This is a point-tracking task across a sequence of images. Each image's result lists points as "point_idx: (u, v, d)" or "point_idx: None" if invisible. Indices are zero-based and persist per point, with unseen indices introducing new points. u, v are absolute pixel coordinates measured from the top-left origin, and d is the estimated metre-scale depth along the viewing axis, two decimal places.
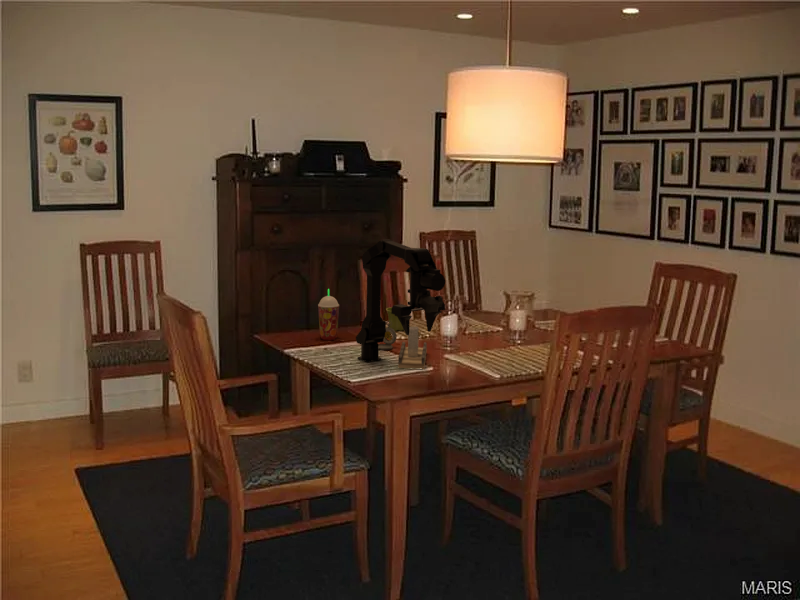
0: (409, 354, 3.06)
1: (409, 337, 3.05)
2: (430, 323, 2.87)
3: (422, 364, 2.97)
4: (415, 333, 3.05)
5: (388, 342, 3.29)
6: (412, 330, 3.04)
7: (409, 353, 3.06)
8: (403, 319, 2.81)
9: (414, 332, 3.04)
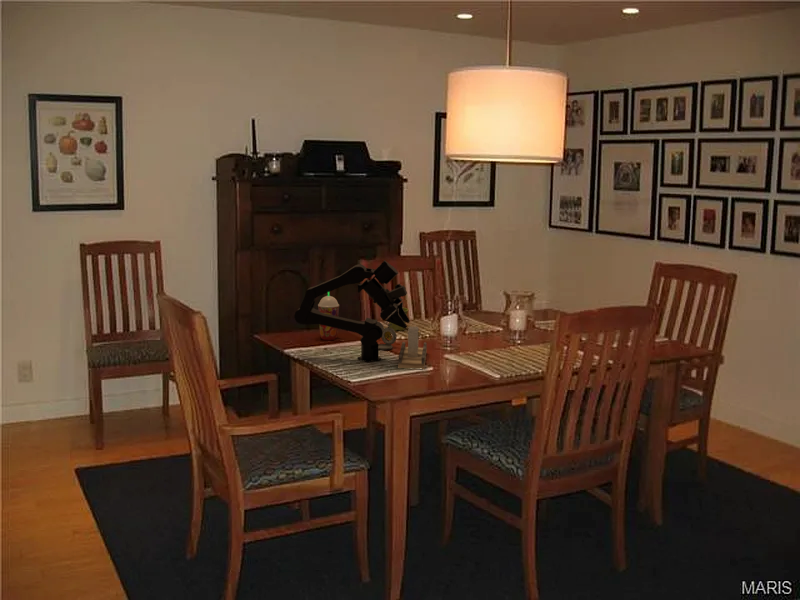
0: (409, 354, 3.06)
1: (409, 337, 3.05)
2: (405, 315, 3.10)
3: (422, 364, 2.97)
4: (415, 333, 3.05)
5: (388, 342, 3.29)
6: (412, 330, 3.04)
7: (409, 353, 3.06)
8: (394, 318, 3.00)
9: (414, 332, 3.04)
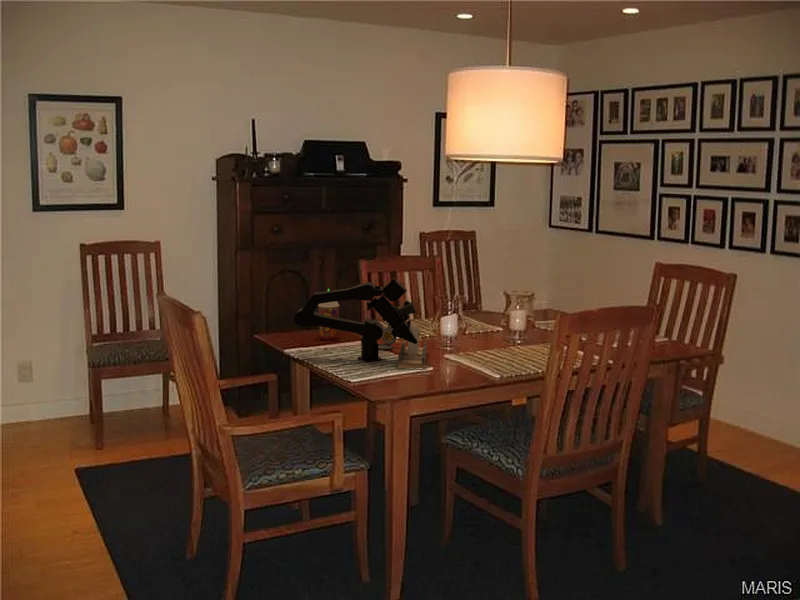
0: (409, 354, 3.06)
1: None
2: None
3: (422, 364, 2.97)
4: (415, 333, 3.05)
5: (388, 342, 3.29)
6: (412, 330, 3.04)
7: (409, 353, 3.06)
8: (405, 334, 3.03)
9: (414, 332, 3.04)
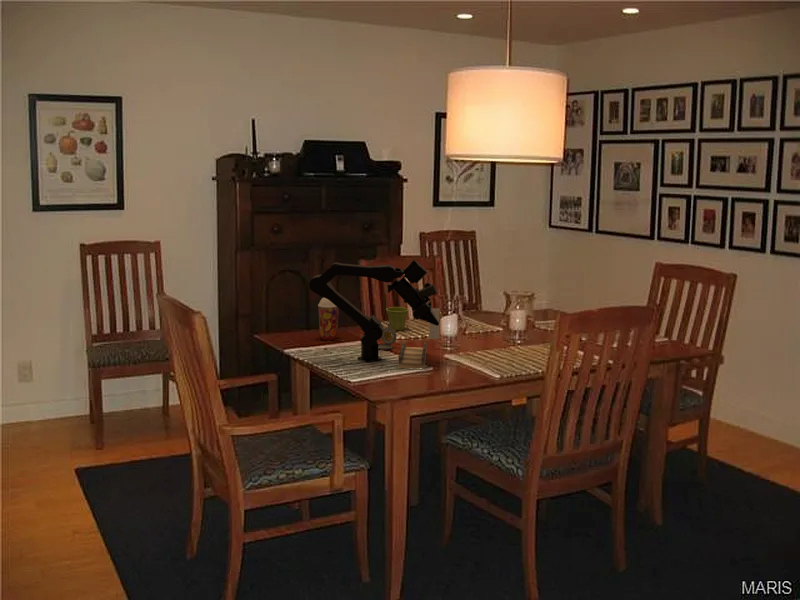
0: (431, 336, 3.04)
1: None
2: None
3: (422, 364, 2.97)
4: (436, 314, 3.03)
5: (388, 342, 3.29)
6: (433, 312, 3.03)
7: (431, 335, 3.04)
8: (426, 316, 3.02)
9: (435, 314, 3.03)
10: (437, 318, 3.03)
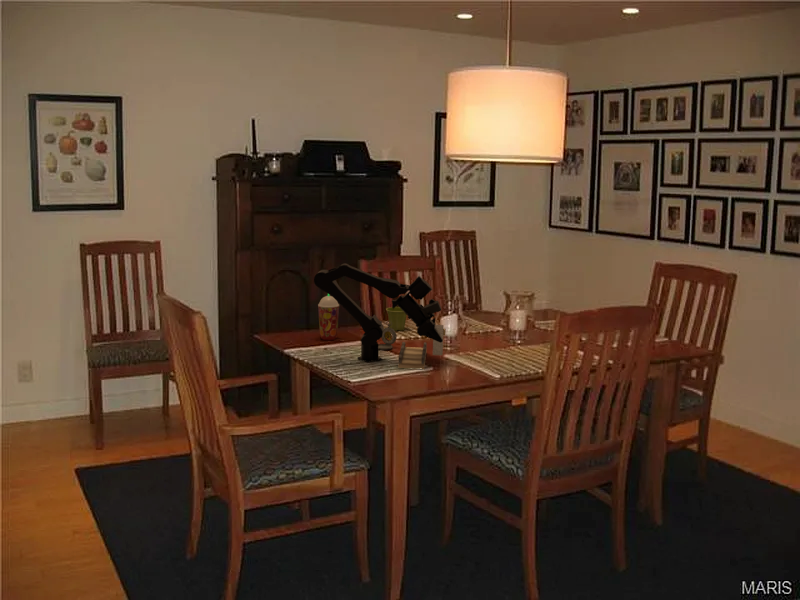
0: (434, 352, 3.05)
1: None
2: None
3: (422, 364, 2.97)
4: (440, 331, 3.04)
5: (388, 342, 3.29)
6: (437, 328, 3.04)
7: (434, 351, 3.05)
8: (430, 332, 3.03)
9: (439, 330, 3.04)
10: (441, 335, 3.04)
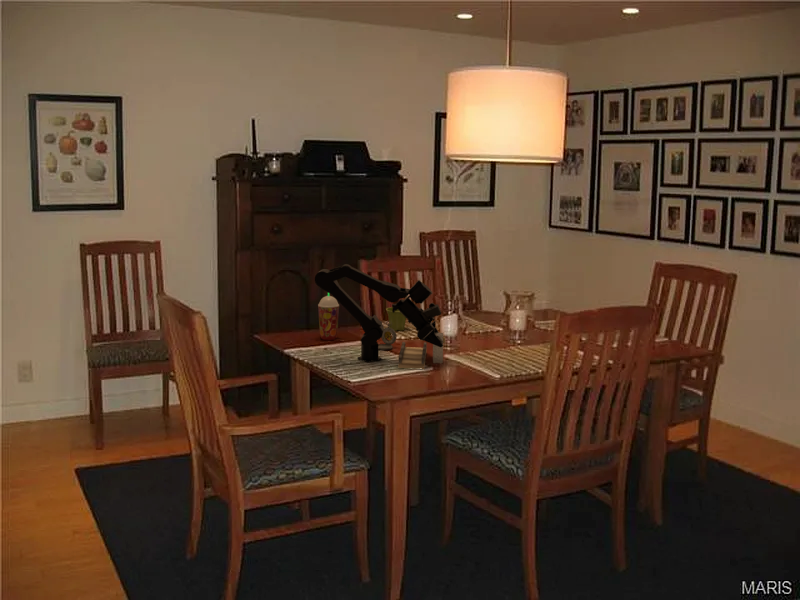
0: (434, 360, 3.06)
1: None
2: None
3: (422, 364, 2.97)
4: (440, 339, 3.04)
5: (388, 342, 3.29)
6: (437, 336, 3.04)
7: (434, 359, 3.06)
8: (430, 337, 3.01)
9: (439, 338, 3.04)
10: None
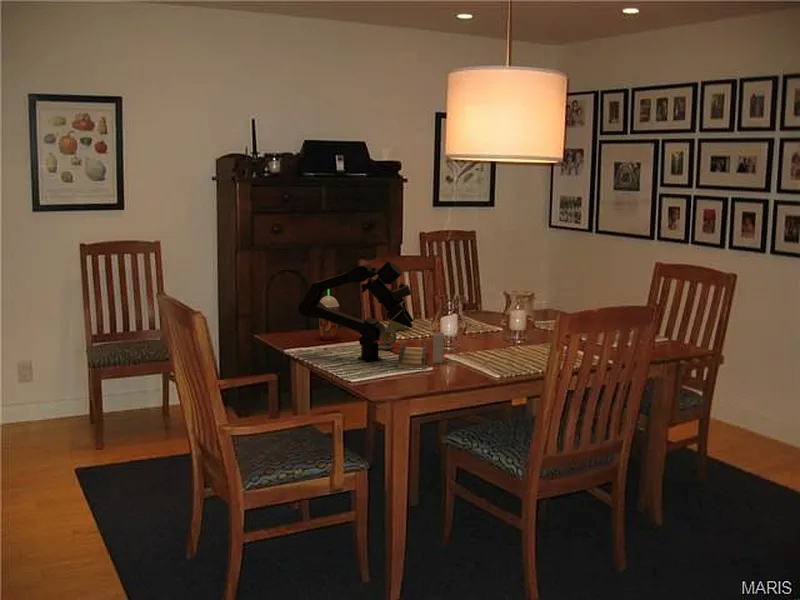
0: (434, 360, 3.06)
1: (434, 343, 3.05)
2: (408, 314, 3.10)
3: (422, 364, 2.97)
4: (440, 339, 3.04)
5: (388, 342, 3.29)
6: (437, 336, 3.04)
7: (434, 359, 3.06)
8: (400, 318, 3.00)
9: (439, 338, 3.04)
10: (441, 343, 3.05)
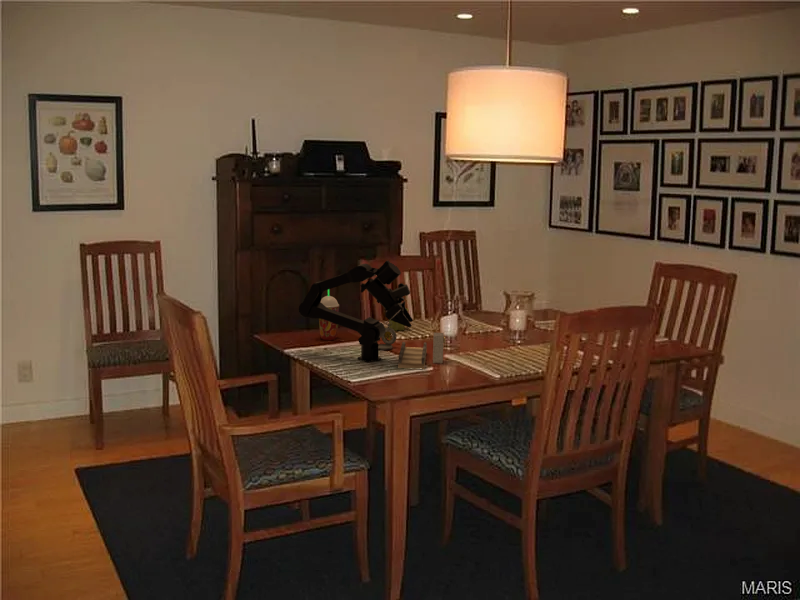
0: (434, 360, 3.06)
1: (434, 343, 3.05)
2: (407, 314, 3.10)
3: (422, 364, 2.97)
4: (440, 339, 3.04)
5: (388, 342, 3.29)
6: (437, 336, 3.04)
7: (434, 359, 3.06)
8: (398, 317, 3.00)
9: (439, 338, 3.04)
10: (441, 343, 3.05)
